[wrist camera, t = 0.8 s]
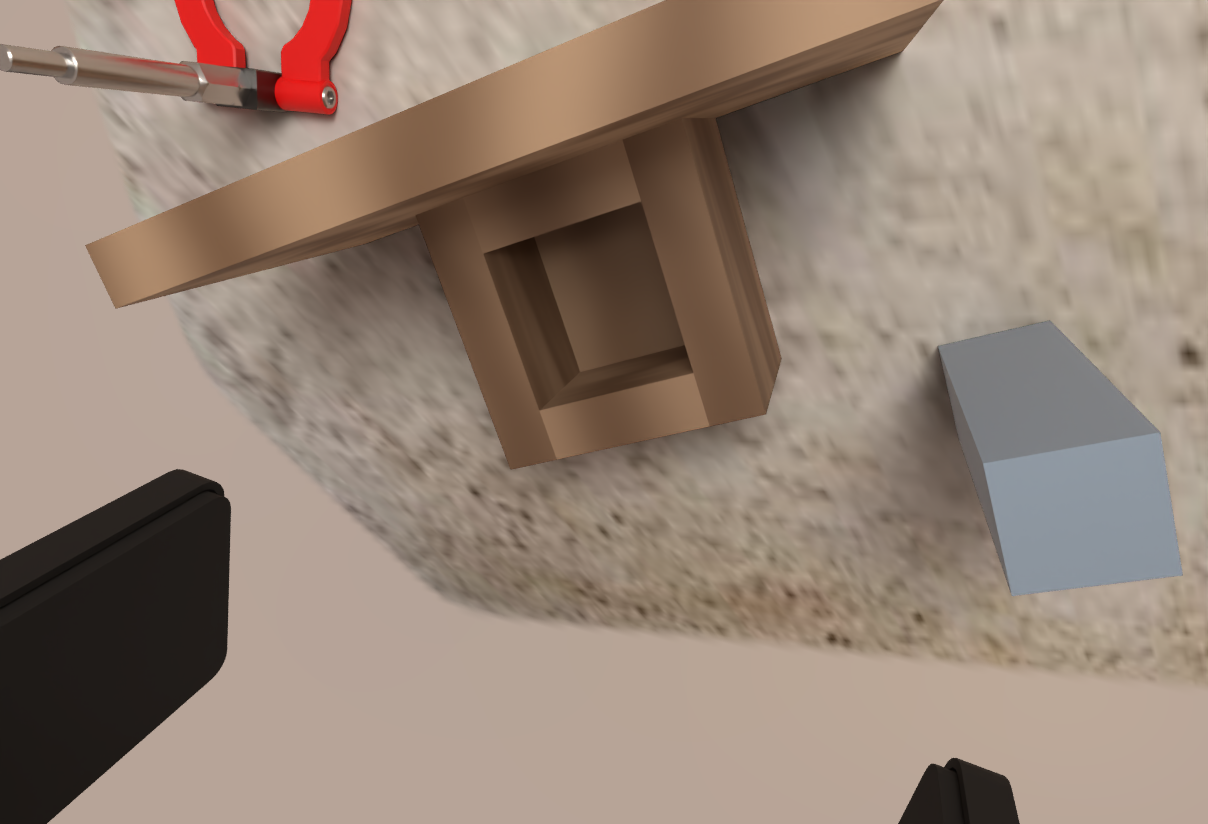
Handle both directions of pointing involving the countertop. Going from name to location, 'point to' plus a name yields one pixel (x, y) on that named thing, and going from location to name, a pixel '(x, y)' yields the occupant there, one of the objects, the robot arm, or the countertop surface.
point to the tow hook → (208, 64)
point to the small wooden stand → (558, 216)
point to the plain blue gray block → (1059, 463)
